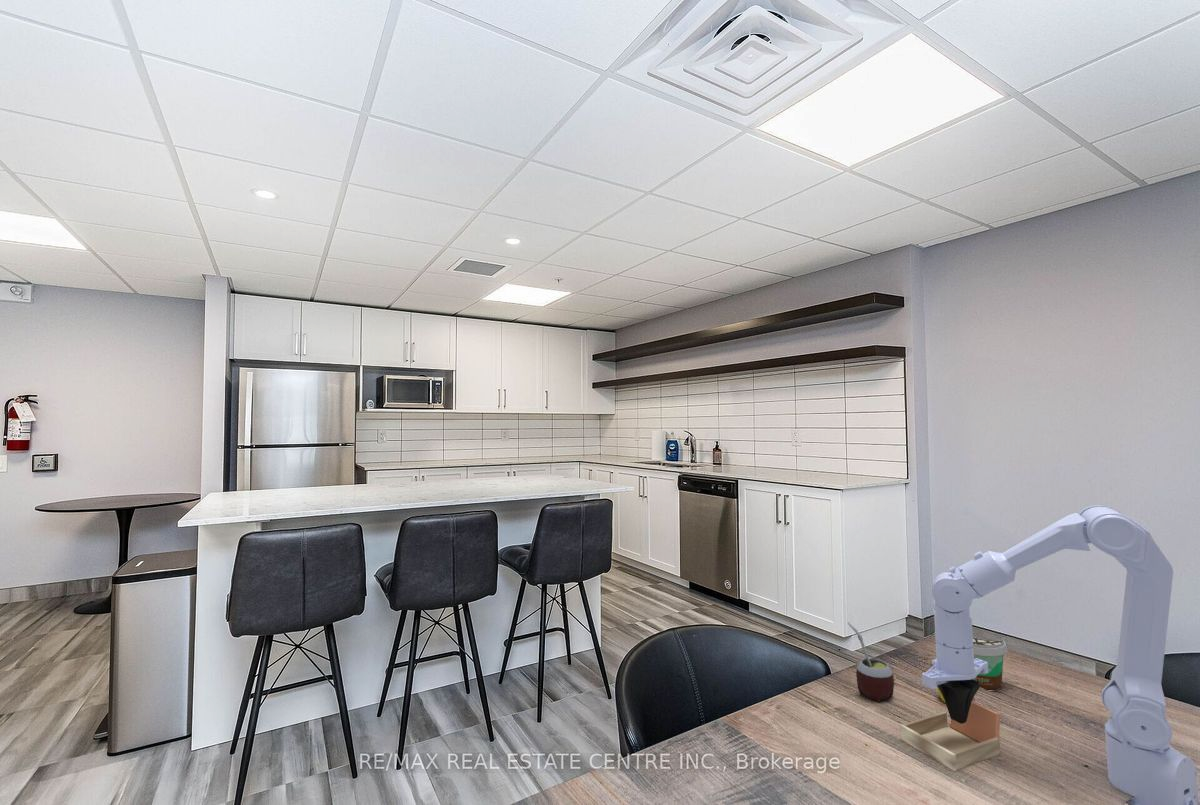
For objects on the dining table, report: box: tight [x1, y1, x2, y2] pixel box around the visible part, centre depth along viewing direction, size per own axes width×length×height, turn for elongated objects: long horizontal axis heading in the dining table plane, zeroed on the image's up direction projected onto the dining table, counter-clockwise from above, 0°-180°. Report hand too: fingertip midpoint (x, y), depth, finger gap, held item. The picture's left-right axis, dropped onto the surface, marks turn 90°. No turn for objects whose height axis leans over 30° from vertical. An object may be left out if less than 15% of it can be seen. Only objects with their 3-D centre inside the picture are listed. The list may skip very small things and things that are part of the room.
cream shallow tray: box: [899, 710, 1001, 772], centre depth 96 cm, size 10×11×4 cm
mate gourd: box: [847, 622, 895, 703], centre depth 116 cm, size 8×8×15 cm
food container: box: [973, 637, 1008, 691], centre depth 120 cm, size 12×6×10 cm, turn 73°
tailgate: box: [950, 700, 1001, 743], centre depth 99 cm, size 1×8×6 cm, turn 21°
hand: (958, 720), depth 98 cm, fingers closed
